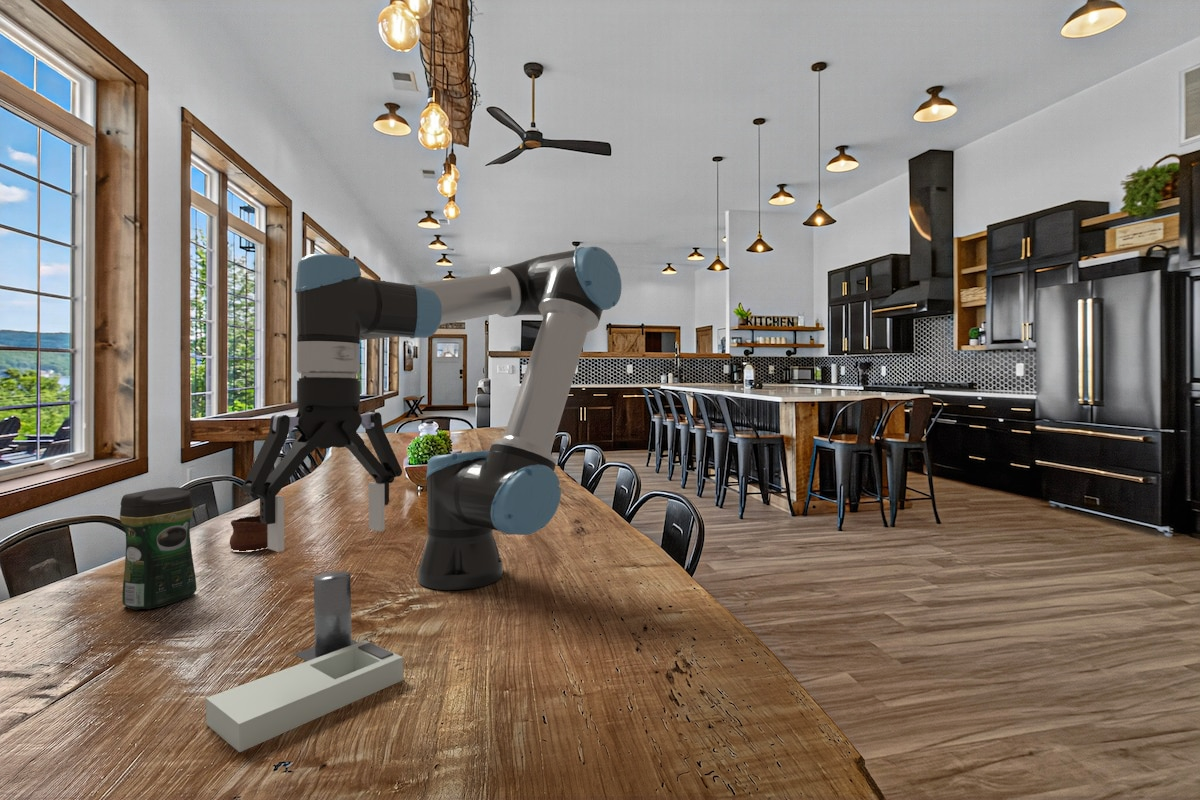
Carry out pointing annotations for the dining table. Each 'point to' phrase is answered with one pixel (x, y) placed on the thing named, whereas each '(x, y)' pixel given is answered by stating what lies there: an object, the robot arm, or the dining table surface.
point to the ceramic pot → (249, 534)
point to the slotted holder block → (301, 693)
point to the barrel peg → (332, 611)
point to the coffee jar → (157, 547)
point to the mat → (311, 653)
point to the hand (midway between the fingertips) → (329, 539)
